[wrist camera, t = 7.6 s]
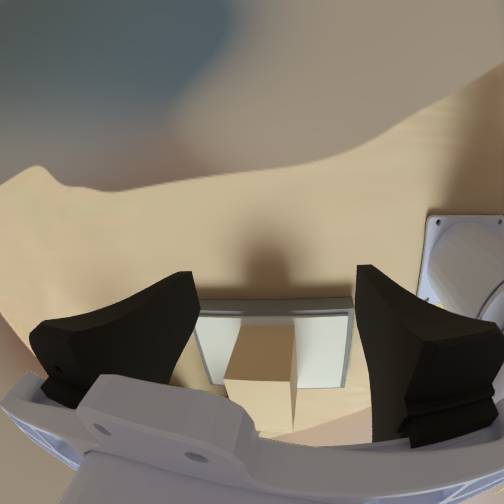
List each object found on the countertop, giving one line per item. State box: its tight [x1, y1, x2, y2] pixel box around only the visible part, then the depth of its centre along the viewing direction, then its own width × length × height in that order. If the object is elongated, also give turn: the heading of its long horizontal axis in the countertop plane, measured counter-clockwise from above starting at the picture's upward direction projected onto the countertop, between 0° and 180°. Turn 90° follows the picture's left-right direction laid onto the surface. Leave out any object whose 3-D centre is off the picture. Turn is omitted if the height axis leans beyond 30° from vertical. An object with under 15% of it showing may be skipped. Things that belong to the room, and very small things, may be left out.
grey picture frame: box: [193, 297, 354, 389], centre depth 25 cm, size 14×10×2 cm
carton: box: [223, 326, 298, 432], centre depth 21 cm, size 7×4×6 cm, turn 8°
